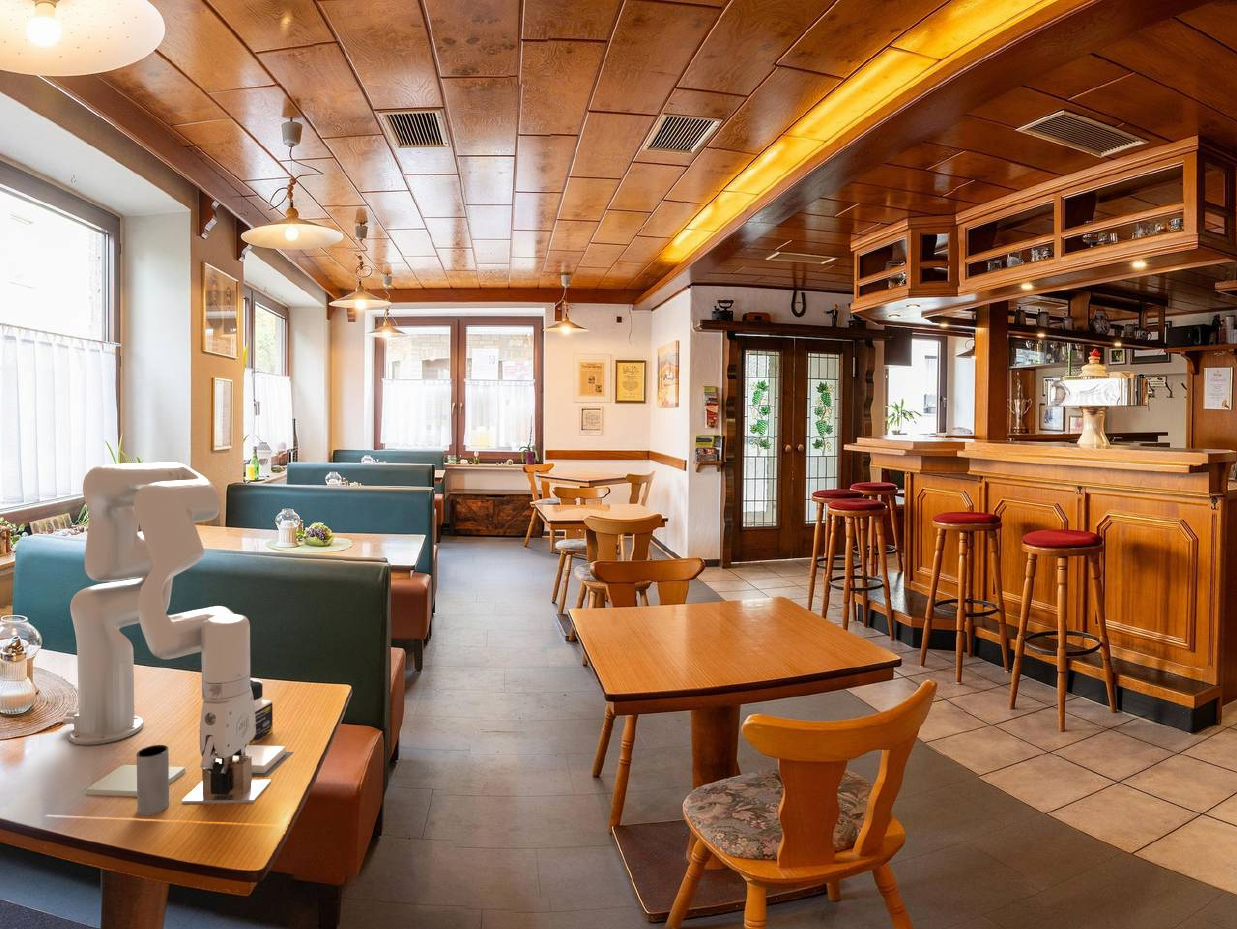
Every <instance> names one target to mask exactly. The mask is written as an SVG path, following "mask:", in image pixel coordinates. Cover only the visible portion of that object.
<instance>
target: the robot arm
mask: <svg viewBox="0 0 1237 929" xmlns="http://www.w3.org/2000/svg"><path fill="white" fill-rule="evenodd" d="M214 485H215V484H214V483H212V481H211V480H209V479H208V478H207V477H205V476H204V475H202V474H200V473H199V472H197V471H196V470H194V469H192V468H191V467H190V466H188V465H186V464H183V463H180V462H148V463H147V462H146V463H145V462H142V463H141V462H139V463H138V462H136V463H134V462H133V463H132V462H131V463H114V464H104V465H103V464H101V465H98V466H95V467H92V468H90V469H89V470H88V472H87V473H86V475H85V476H84V480H83V486H82V493H83V497H84V501H85V504H86V508H87V513H88V523H87V524H88V525H87V531H86V532H87V533H86V542H85V551H84V552H85V553H84V569H85V574H86V576H87V577H88V578H89V579H91V580H92V581H95V582H104V583H99V584H95V585H91V586H88V587H85V588H82V589H81V590H79V591H77V592H76V593H75V594H74V595H73V597H72V598H71V601H70V616H71V619H72V623H73V628H74V633H75V639H76V640H75V641H76V654H77V658H76V659H77V661H76V662H77V688H78V690H77V692H78V693H77V694H78V695H77V696H78V698H77V700H78V710H74V709H73V710H68V711H67V712H66V715H65V716H64V718H63V720H62V724H65V725H66V724H67V725H72V724H73V729H72V730H71V731H70V733H69V741H70V742H72V743H73V744H76V745H83V746H92V745H101V744H102V745H103V744H108V743H112V742H117V741H119V740H122V739H125V738H129V737H131V736H133V735H135V734H136V733H138V732H139V731H141V730H142V728H143V727H144V719H143V718H141V717H140V716H137V715H135V680H134V678H135V676H134V673H135V672H134V671H135V670H134V647H133V644H132V642H131V640H129V638H127V637H126V636H125V635H124V634H123V633H121V630H120V629H121V628H123V627H128V626H131V625H136V624H140V628H141V631H142V634H143V636H144V639H145V643H146V646H147V647H148V649H149V652H151V654H152V655H153V656H154V657H156V658H157V659H161V660H172V659H176V658H180V657H184V656H188V655H192V654H197V653H201V697H202V698H201V699H202V700H203V701H202V704H201V706H202V707H201V713H200V724H199V752H200V756H201V758H202V759H201V762H200V766H199V767H200V768H201V769H202V768H205V769H207V770H208V772H209V773H210V775H211V793H212V794H222V795H227V794H229V793H230V771H227V770H228V758H229V757H231V756H245V755H246V752H245V748H246V745H247V743H248V742H250V741H251V740H252V739H253V738H254V736H255V734H256V720H255V707H254V699H253V693H252V689H251V686H250V679H251V624H250V621H249V619H248V617H247V616H245V615H243V614H237V613H234V612H233V611H232V610H231V609H230V608H228V607H226V606H223V605H222V606H221V605H215V606H209V607H204V608H200V609H193V610H188V611H184V612H179V613H174V614H169V615H168V614H167V611H168V609H169V607H170V604H171V603H170V602H171V597H172V590H173V581H174V577H175V576H177V575H179V574H181V573H182V572H185V571H186V570H188V569H190V568H191V567H194V565H197V564H198V563H199V562H200V561H201V560H202V559H203V557H204V555H205V548H204V545H203V543H202V541H201V540H202V539H201V538H200V534H199V532H198V529H197V528H198V527H197V526H196V523H201V522H203V523H204V522H209V521H212V520H215V519H216V518H217V517H218V516H219V514H220V512H221V506H222V505H221V504H222V502H221V496H220V493H219V492H218V490H217V488H216V487H215V486H214ZM139 528H140V531H139ZM105 582H106V583H105ZM216 759H222V761H221V764H220V763H219V762H216Z"/></svg>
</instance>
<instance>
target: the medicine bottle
mask: <svg viewBox="0 0 1237 929" xmlns="http://www.w3.org/2000/svg"><path fill="white" fill-rule="evenodd" d="M263 684H264V683H263V681H262V680H260V679H255V678H250V686H251V689H252V693H253V699H254V707H255V720H256V734H255V736H254V738H253V739H252V740H251V741H250V742H248V743H247V745H255V743H257V742H259V741H260V740H263V738H266V737H267V736H268V735H270V734H272V733H273V732H274V730H273V728H274V727H273V722H274V721H273V700H270V699H263V698H264V689H263Z"/></svg>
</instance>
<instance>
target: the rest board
mask: <svg viewBox="0 0 1237 929" xmlns="http://www.w3.org/2000/svg"><path fill="white" fill-rule="evenodd" d="M185 773H186V767H185V766H169V785H170V784H172V783H174V781H176V780H177V779H178V778H179V777H182V775H184V774H185ZM85 795H90V796H91V795H94V796H96V795H98V796H113V797H114V796H117V797H119V796H120V797H137V764H122V765H121V766H119V767H117V768H116V769H114V770H113V771H111V772H110V773H108V774H107V775H105V776H104V777H102V778H100V779H99V780H96V781H95V783H93V784H91V785H89V786H88V787H87V788H85Z"/></svg>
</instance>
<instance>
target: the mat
mask: <svg viewBox="0 0 1237 929" xmlns="http://www.w3.org/2000/svg"><path fill="white" fill-rule="evenodd" d="M294 753H295V752H294V751H286V754H285V755H284V756H283V757H282V758H280V759H279V760H278V761H277V762H276V763H275V764H274V765H273V766H272V767H271V768H270V769H268V770H267V771H266V772H265V773H252V777H259V778H260V777H261V778H268V777H269V776H270V775H271V774H272V773H273V772H274V771H276V770H277V769H278V768H279V767H280V766H281V765H282V764H283V763H284V762H285V761H287V759H288V758H289V757H291V756H292V755H293V754H294Z"/></svg>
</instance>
